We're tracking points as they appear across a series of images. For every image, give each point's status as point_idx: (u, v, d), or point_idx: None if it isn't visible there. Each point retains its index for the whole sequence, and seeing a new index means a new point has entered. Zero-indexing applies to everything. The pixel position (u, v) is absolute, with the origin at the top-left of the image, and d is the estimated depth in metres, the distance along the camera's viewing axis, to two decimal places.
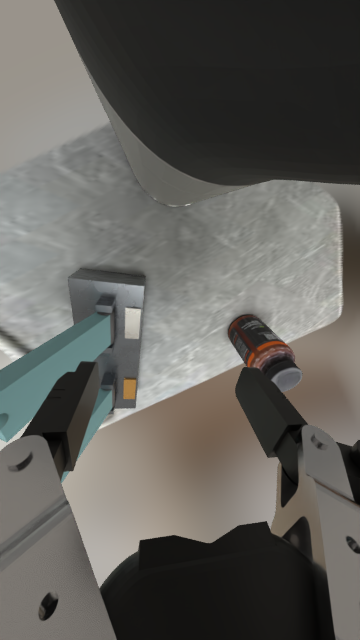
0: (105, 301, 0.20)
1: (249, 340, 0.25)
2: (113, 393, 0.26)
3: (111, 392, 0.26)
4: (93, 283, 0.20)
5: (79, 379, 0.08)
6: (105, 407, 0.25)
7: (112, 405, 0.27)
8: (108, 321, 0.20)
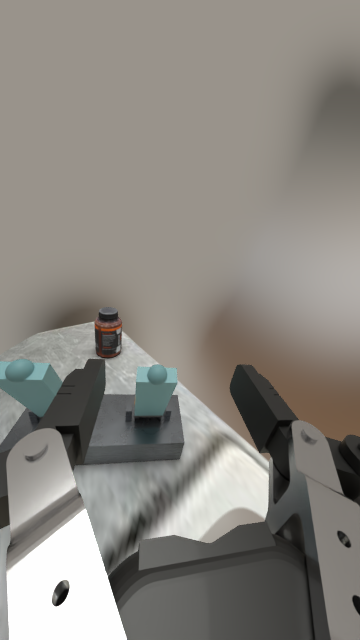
0: None
1: (99, 337, 0.41)
2: None
3: None
4: (14, 428, 0.23)
5: (88, 376, 0.08)
6: None
7: None
8: None
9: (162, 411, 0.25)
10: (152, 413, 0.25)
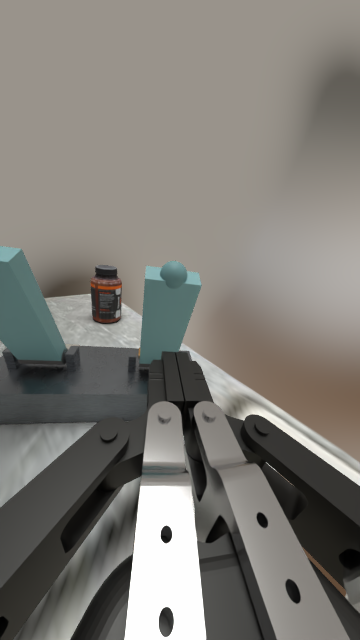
0: None
1: (95, 297, 0.36)
2: None
3: None
4: None
5: (170, 364, 0.09)
6: None
7: None
8: None
9: None
10: None
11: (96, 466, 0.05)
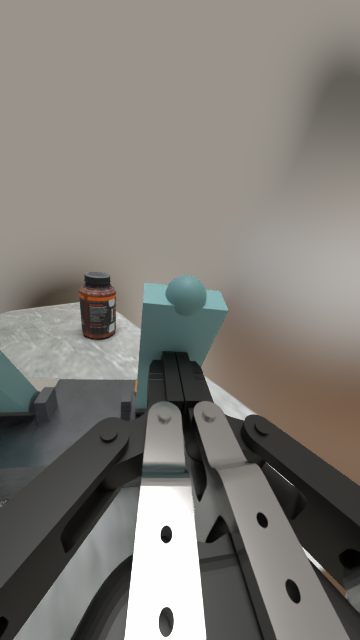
0: None
1: (85, 309, 0.31)
2: None
3: None
4: None
5: (170, 364, 0.09)
6: None
7: None
8: None
9: None
10: None
11: (96, 466, 0.05)
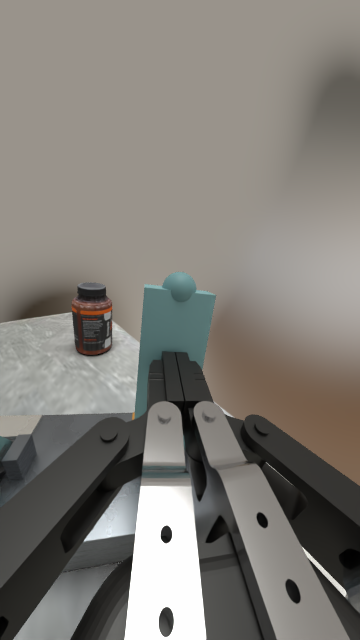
0: None
1: (78, 324, 0.28)
2: None
3: None
4: None
5: (170, 364, 0.09)
6: None
7: None
8: None
9: None
10: None
11: (96, 466, 0.05)
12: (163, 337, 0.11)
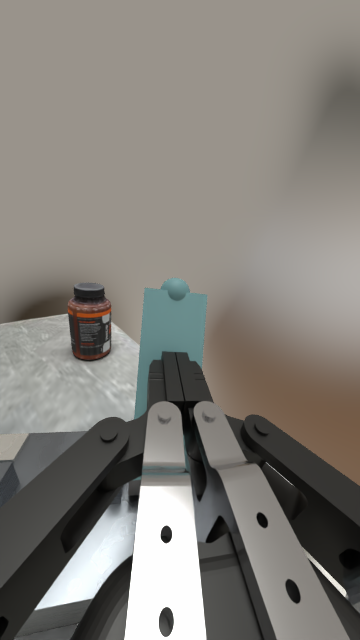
0: None
1: (74, 327, 0.26)
2: None
3: None
4: None
5: (170, 364, 0.09)
6: None
7: None
8: None
9: None
10: None
11: (96, 466, 0.05)
12: (162, 334, 0.11)
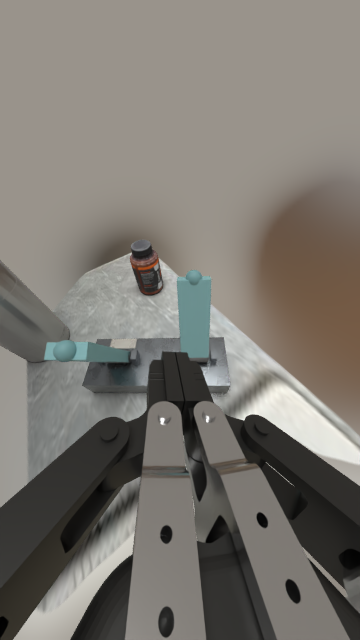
0: None
1: (138, 276, 0.39)
2: None
3: None
4: (89, 369, 0.29)
5: (170, 364, 0.09)
6: None
7: None
8: None
9: (206, 346, 0.26)
10: (197, 351, 0.26)
11: (96, 466, 0.05)
12: (188, 302, 0.23)
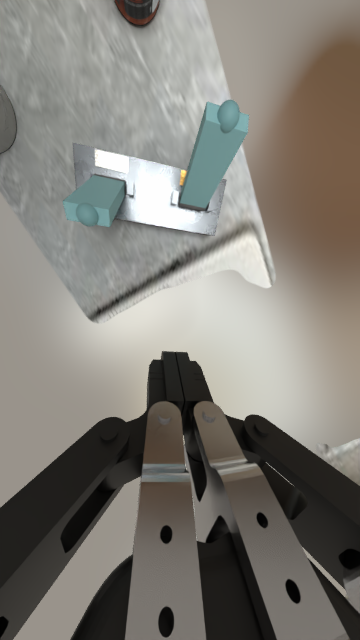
0: None
1: None
2: None
3: None
4: None
5: (170, 364, 0.09)
6: None
7: None
8: (98, 176, 0.24)
9: (208, 199, 0.26)
10: (197, 201, 0.27)
11: (96, 466, 0.05)
12: (208, 152, 0.19)
